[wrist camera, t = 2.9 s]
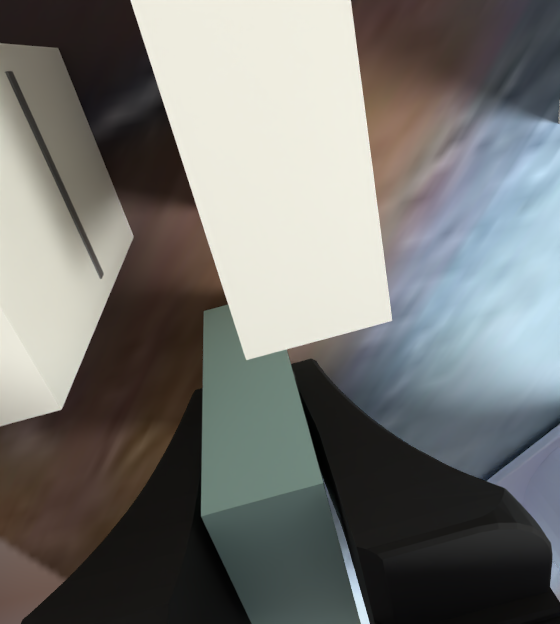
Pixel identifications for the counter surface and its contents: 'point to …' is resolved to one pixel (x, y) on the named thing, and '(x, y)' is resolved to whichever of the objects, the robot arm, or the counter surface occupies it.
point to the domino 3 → (266, 487)
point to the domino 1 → (50, 232)
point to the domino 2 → (275, 160)
